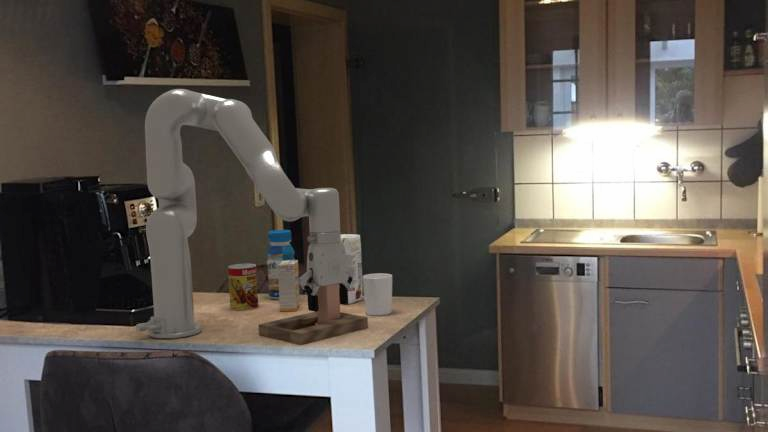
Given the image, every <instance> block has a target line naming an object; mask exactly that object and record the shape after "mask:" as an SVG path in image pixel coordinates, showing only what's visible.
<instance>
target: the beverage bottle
mask: <svg viewBox="0 0 768 432" xmlns="http://www.w3.org/2000/svg"><path fill="white" fill-rule="evenodd" d="M291 231H292V230H289V229H275V230H269V231H268V233H267V234H268V239H267V240H268V243H269V244H270V245H269V246H268V249H267V253H266V256H267V261H266V266H267V274H268V289H269V290H268V297H269V299H271V300H279V280H278V264H279V263H280V262H282V261H288V260H296V258H295V257H294V256H295V250H294V248H293V246H292V244H291V242H292V232H291ZM279 301H280V300H279Z"/></svg>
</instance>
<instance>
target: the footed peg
mask: <svg viewBox="0 0 768 432" xmlns="http://www.w3.org/2000/svg"><path fill="white" fill-rule="evenodd" d="M315 295H318V308H319V310H318V311H317V318H318V322H316V323H315V325H318V323H319V322H323V321H327V320H331V319H336V318H340V312H341V304H340V297H339V284H336V285H331V286H325V287H319V289H318V291H317V293H316V294H315Z"/></svg>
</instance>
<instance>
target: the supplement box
mask: <svg viewBox="0 0 768 432" xmlns="http://www.w3.org/2000/svg"><path fill="white" fill-rule="evenodd" d="M299 274H300V273H299V260H298V259H295V260H288V261H282V262H280V263H279V264H278V280H279V311H280V312H297V310H298V309H299V306H300V305H301V301H300V300H301V299H300V298H301V297H300V284H299V282H298V279H299V278H300V277H299Z"/></svg>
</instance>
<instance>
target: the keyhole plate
mask: <svg viewBox="0 0 768 432" xmlns="http://www.w3.org/2000/svg"><path fill="white" fill-rule="evenodd" d="M316 322H318V318H317V312H314V311H311V312H307V313H303V314H299V315H295V316H290V317H286V318H281V319H277V320H271V321H268V322H264V323H259V324H258V325H257V326H258V336H262V337H265V338H270V339H274V340H279V341H283V342H288V343H291V344H296V345H300V346H302V345H306V344H309V343H315V342H318V341H322V340H325V339H329V338H333V337H337V336H340V335H344V334H348V333H352V332H355V331H360V330H365V329H367V328H369V323H368V322H369V321H368V316H362V315H356V314H352V313H348V312H347V313H346V312H342V311H340V318H336V319H331V320H327V321H323V322H319V323H318V325H315V323H316Z"/></svg>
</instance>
